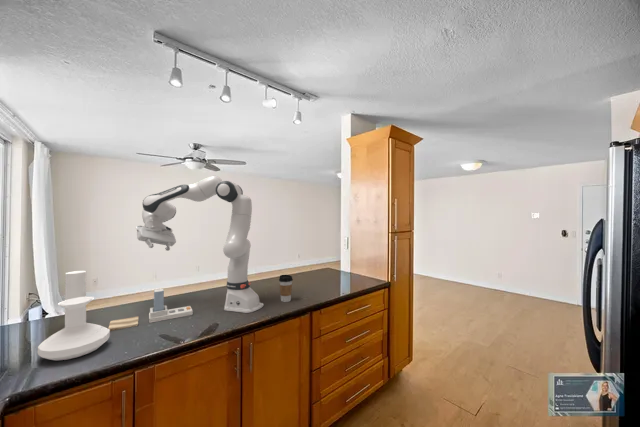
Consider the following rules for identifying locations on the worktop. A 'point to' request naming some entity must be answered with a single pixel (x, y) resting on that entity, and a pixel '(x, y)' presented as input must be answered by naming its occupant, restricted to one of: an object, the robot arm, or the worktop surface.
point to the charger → (158, 300)
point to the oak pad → (123, 323)
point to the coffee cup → (285, 287)
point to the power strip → (169, 313)
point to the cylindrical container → (74, 286)
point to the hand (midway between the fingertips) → (160, 248)
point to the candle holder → (74, 333)
